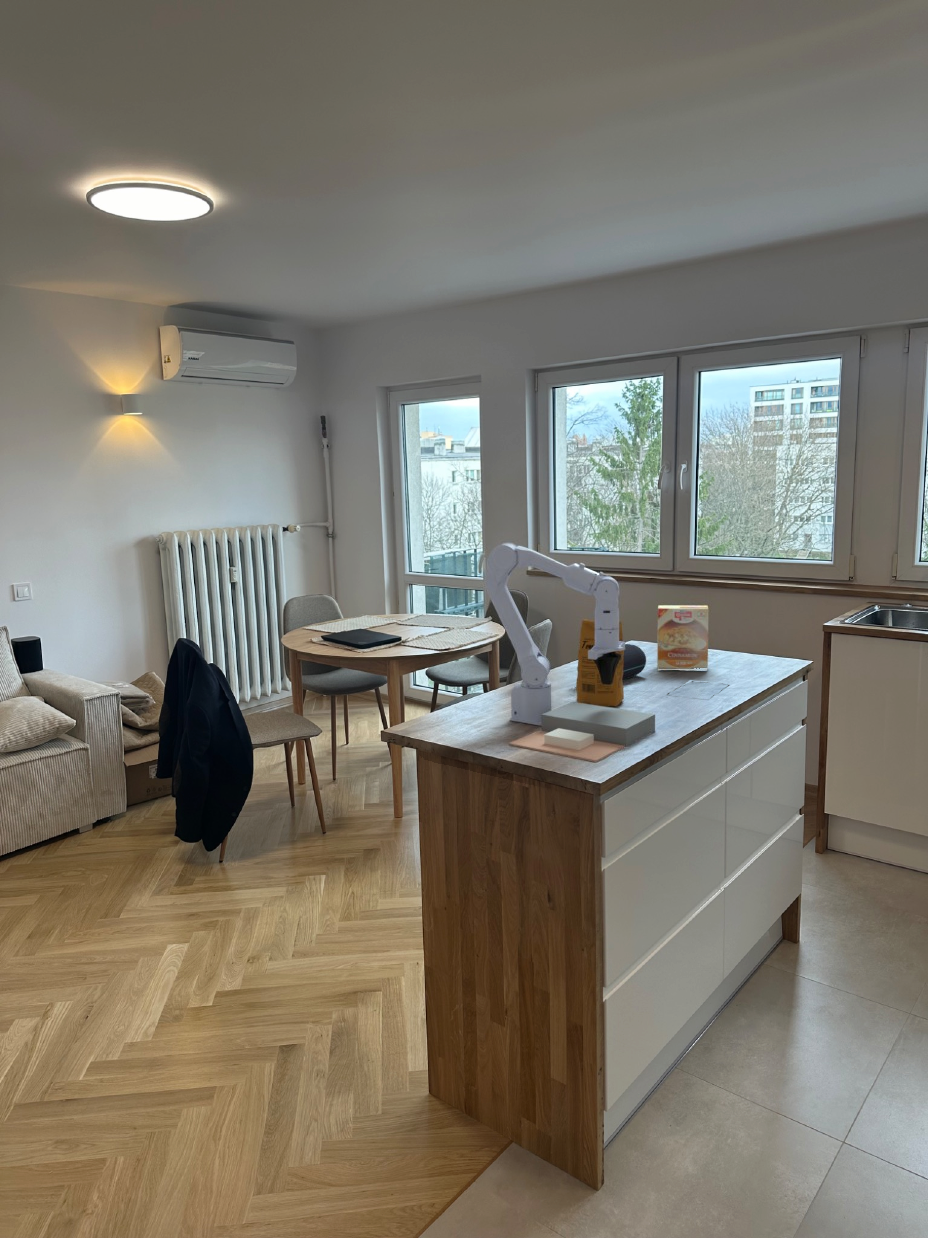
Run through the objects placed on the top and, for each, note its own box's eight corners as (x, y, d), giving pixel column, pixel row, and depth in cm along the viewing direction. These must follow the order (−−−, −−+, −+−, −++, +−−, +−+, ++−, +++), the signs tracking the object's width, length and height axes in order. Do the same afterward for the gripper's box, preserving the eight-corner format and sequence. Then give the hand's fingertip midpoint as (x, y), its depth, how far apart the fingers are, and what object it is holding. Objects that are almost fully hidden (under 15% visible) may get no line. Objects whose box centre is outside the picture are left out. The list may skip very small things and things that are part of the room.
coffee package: (584, 695, 230) (583, 616, 227) (628, 700, 225) (628, 618, 221) (571, 704, 222) (570, 621, 218) (616, 709, 216) (616, 623, 213)
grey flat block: (541, 731, 198) (541, 714, 197) (572, 717, 209) (572, 701, 208) (626, 746, 184) (626, 728, 184) (655, 731, 195) (655, 714, 195)
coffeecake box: (657, 671, 259) (657, 607, 256) (657, 666, 265) (657, 604, 263) (708, 672, 255) (709, 608, 252) (706, 667, 262) (707, 604, 259)
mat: (509, 744, 188) (509, 743, 188) (539, 732, 197) (539, 730, 197) (596, 762, 174) (596, 760, 174) (624, 747, 184) (624, 745, 184)
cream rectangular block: (558, 728, 191) (558, 736, 192) (544, 734, 187) (544, 743, 187) (593, 734, 186) (593, 743, 186) (579, 741, 181) (579, 750, 181)
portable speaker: (621, 672, 259) (621, 640, 257) (649, 676, 252) (650, 643, 250) (571, 687, 241) (570, 653, 240) (599, 692, 234) (599, 657, 233)
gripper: (606, 633, 192) (606, 692, 195) (636, 624, 204) (636, 680, 206) (579, 631, 197) (580, 688, 199) (610, 622, 208) (610, 676, 210)
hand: (607, 683), depth 203 cm, fingers closed
